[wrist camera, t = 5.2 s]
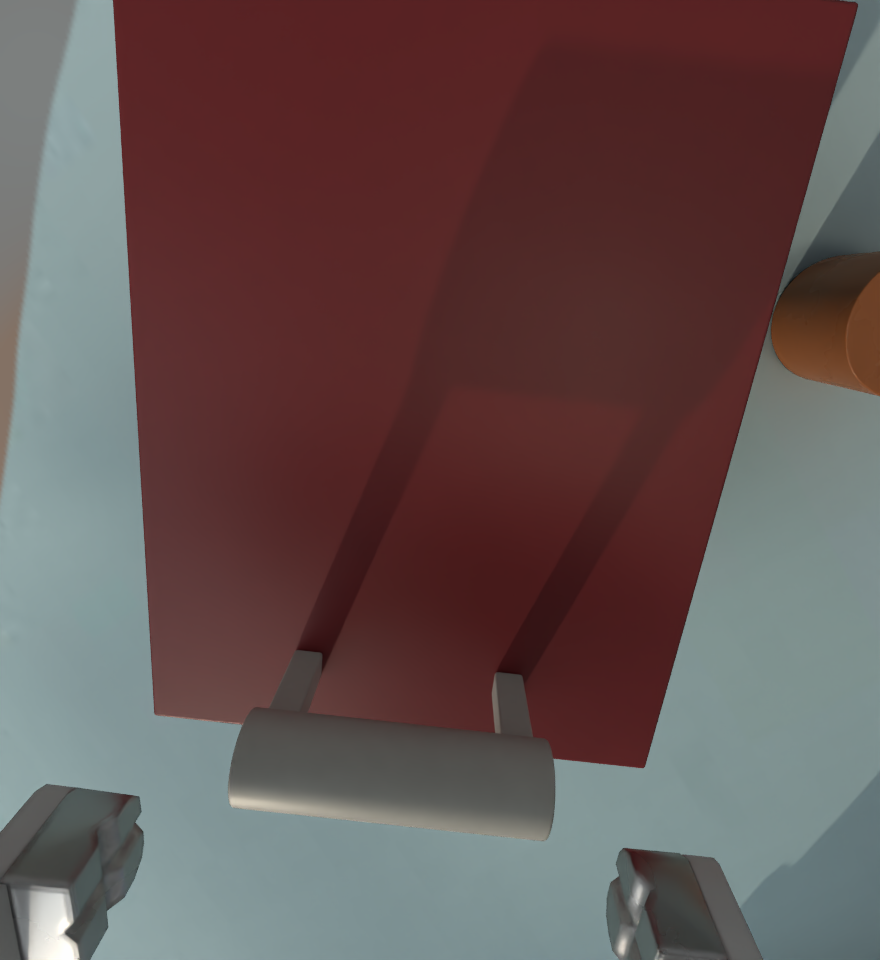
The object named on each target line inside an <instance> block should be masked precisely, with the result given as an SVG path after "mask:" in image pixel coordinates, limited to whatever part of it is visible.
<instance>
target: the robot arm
mask: <svg viewBox="0 0 880 960" xmlns="http://www.w3.org/2000/svg"><path fill="white" fill-rule="evenodd" d="M141 812H142V811H141V804H140V797H139V796H133V795H126V794H119V793H112V792H104V791H97V790H90V789H83V788H75V787H67V786H59V785H51V784H46V785H44V786H43V787H41V788H40V789H38V790H37V791H36V792H34V793H33V795H32V796H31V797H30V798H29V799H28V800H27V802H26V803H25V804H24V805H23V806H22V808H21V809H20V810H19V811H18V812H17V813H16V815H15V816H14V817H13V818H12V819H11V820H10V822H9V823H8V824H7V825H6V826H5V828H4V829H3V830H2V831H1V832H0V960H90V959H91V957H92V955H93V954H94V952H95V950H96V948H97V946H98V945H99V943H100V941H101V939H102V937H103V936H104V934H105V932H106V930H107V928H108V919H107V910H109V909H110V908H111V907H112V906H114V905H115V904H116V903H118V902H119V901H120V900H122V899H123V898H124V897H125V896H126V894H127V892H128V890H129V888H130V886H131V884H132V882H133V881H134V879H135V876H136V873H137V870H138V867H139V864H140V862H141V859H142V853H143V846H144V835H143V831H142V830H141V828H140V827H139V826H138V825H137V824H136V823H135V822H136V820H137V818H138V817H139V815H140V813H141ZM616 866H617V870H618V874H619V877H617V878H616V879H615V880H613V881H612V882H611V883H610V886H609V890H608V894H607V909H606V918H607V926H608V933H609V938H610V942H611V947H612V951H613V952H614V953H615V955H616V956H617V957H618V958H619V960H763V958H762V956H761V954H760V951H759V949H758V947H757V945H756V943H755V941H754V938H753V936H752V934H751V932H750V930H749V927H748V925H747V923H746V921H745V919H744V917H743V914H742V912H741V910H740V908H739V906H738V904H737V901H736V899H735V897H734V895H733V893H732V891H731V888H730V886H729V884H728V882H727V880H726V877H725V875H724V873H723V871H722V869H721V867H720V864H719V863H718V862H717V861H716V860H715V859H714V858H711V857H702V856H693V855H681V854H680V853H671V852H660V851H650V850H639V849H628V848H623V849H622V850H621V851H620V852H619V855H618V858H617V861H616Z"/></svg>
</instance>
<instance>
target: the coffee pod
mask: <svg viewBox="0 0 880 960" xmlns="http://www.w3.org/2000/svg"><path fill="white" fill-rule="evenodd" d="M771 337H772V343H773V347H774V349H775V352H776V354H777V356H778V358H779V359H780V361H781V362H782V364H783V365H784V366H785V367H786V368H787V369H788V370H790V371H791V372H793V373H794V374H796V375H798V376H800V377H803V378H806V379H809V380H813V381H818V382H822V383H826V384H830V385H835V386H839V387H843V388H847V389H852V390H856V391H860V392H864V393H869V394H873V395H877V396H880V251H879V252H870V253H860V254H851V255H842V256H835V257H830V258H827V259H824V260H821V261H819V262H817V263H815V264H813V265H811V266H810V267H808V268H807V269H805V270H804V271H802V272H801V273H800V274H799V275H798V276H797V277H796V278H795V279H794V280H793V281H792V282H791V283H790V284H789V285H788V286H787V288H786V289H785V290H784V292H783V294H782V295H781V297H780V299H779V301H778V303H777V305H776V308H775V311H774V314H773V318H772V325H771Z"/></svg>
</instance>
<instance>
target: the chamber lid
mask: <svg viewBox="0 0 880 960" xmlns="http://www.w3.org/2000/svg"><path fill="white" fill-rule="evenodd" d="M113 7H114V24H115V41H116V59H117V76H118V93H119V110H120V128H121V145H122V162H123V179H124V196H125V214H126V231H127V248H128V265H129V283H130V300H131V317H132V334H133V351H134V369H135V386H136V403H137V420H138V438H139V455H140V472H141V489H142V507H143V524H144V541H145V558H146V575H147V593H148V610H149V627H150V644H151V662H152V679H153V696H154V713H155V715H158V716H167V717H176V718H186V719H195V720H204V721H213V722H222V723H232V724H241V725H242V728H241V730H240V733H239V736H238V739H237V742H236V746H235V749H234V753H233V757H232V762H231V767H230V774H229V783H228V798H229V803H230V805H231V806H232V807H233V808H240V809H249V810H258V811H268V812H277V813H286V814H295V815H305V816H314V817H323V818H333V819H342V820H351V821H361V822H370V823H379V824H388V825H398V826H407V827H416V828H426V829H435V830H444V831H453V832H463V833H472V834H481V835H491V836H500V837H509V838H518V839H528V840H537V841H545V840H547V838H548V837H549V834H550V831H551V828H552V823H553V817H554V808H555V770H554V761H553V759H562V760H572V761H581V762H590V763H599V764H608V765H618V766H627V767H636V768H644V767H645V765H646V761H647V757H648V754H649V750H650V747H651V743H652V740H653V736H654V732H655V729H656V725H657V722H658V718H659V715H660V711H661V707H662V704H663V700H664V697H665V693H666V690H667V686H668V682H669V679H670V675H671V672H672V668H673V665H674V661H675V658H676V654H677V650H678V647H679V643H680V640H681V636H682V633H683V629H684V625H685V622H686V618H687V615H688V611H689V608H690V604H691V600H692V597H693V593H694V590H695V586H696V583H697V579H698V575H699V572H700V568H701V565H702V561H703V558H704V554H705V551H706V547H707V543H708V540H709V536H710V533H711V529H712V526H713V522H714V518H715V515H716V511H717V508H718V504H719V501H720V497H721V493H722V490H723V486H724V483H725V479H726V476H727V472H728V469H729V465H730V461H731V458H732V454H733V451H734V447H735V444H736V440H737V436H738V433H739V429H740V426H741V422H742V419H743V415H744V411H745V408H746V404H747V401H748V397H749V394H750V390H751V386H752V383H753V379H754V376H755V372H756V369H757V365H758V362H759V358H760V354H761V351H762V347H763V344H764V340H765V337H766V333H767V329H768V326H769V322H770V319H771V315H772V312H773V308H774V304H775V301H776V297H777V294H778V290H779V287H780V283H781V279H782V276H783V272H784V269H785V265H786V262H787V258H788V255H789V251H790V247H791V244H792V240H793V237H794V233H795V230H796V226H797V222H798V219H799V215H800V212H801V208H802V205H803V201H804V197H805V194H806V190H807V187H808V183H809V180H810V176H811V172H812V169H813V165H814V162H815V158H816V155H817V151H818V148H819V144H820V140H821V137H822V133H823V130H824V126H825V123H826V119H827V115H828V112H829V108H830V105H831V101H832V98H833V94H834V90H835V87H836V83H837V80H838V76H839V73H840V69H841V66H842V62H843V58H844V55H845V51H846V48H847V44H848V41H849V37H850V33H851V30H852V26H853V23H854V19H855V16H856V12H857V8H858V4H857V3H856V2H848V1H840V0H113Z"/></svg>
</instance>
